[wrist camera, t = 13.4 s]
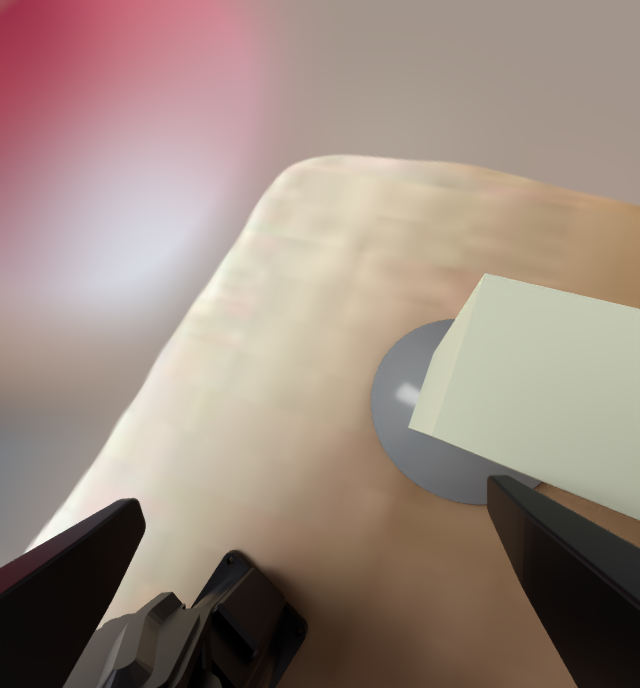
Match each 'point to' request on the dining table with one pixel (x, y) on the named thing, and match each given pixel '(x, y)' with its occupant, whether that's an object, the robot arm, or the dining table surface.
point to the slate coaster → (417, 448)
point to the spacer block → (542, 389)
